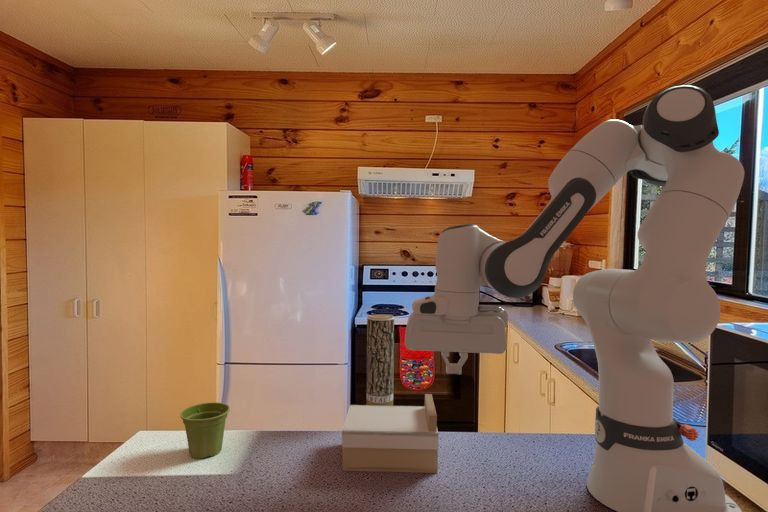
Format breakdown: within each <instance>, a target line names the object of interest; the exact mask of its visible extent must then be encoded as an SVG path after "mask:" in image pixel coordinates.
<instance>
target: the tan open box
mask: <svg viewBox="0 0 768 512" xmlns="http://www.w3.org/2000/svg"><path fill="white" fill-rule="evenodd" d="M438 451H439V449H438V450H434V449H391V448H349V447H342V459H341V460H342V464H341V465H342V468H341V469H342V471H343V472H345V471H346V472H377V473H378V472H383V473H413V474H414V473H415V474H416V473H419V474H425V473H426V474H438V463H439V462H438V460H439V459H438V458H439V454H438Z"/></svg>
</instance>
